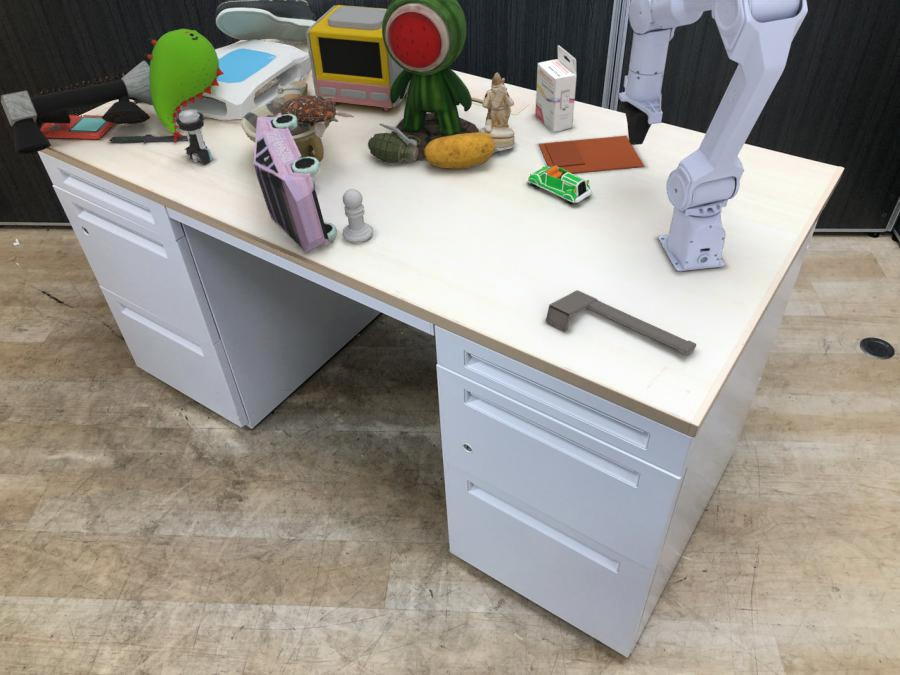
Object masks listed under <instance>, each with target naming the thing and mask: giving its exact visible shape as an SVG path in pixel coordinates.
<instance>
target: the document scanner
mask: <svg viewBox="0 0 900 675" xmlns="http://www.w3.org/2000/svg"><path fill="white" fill-rule="evenodd" d="M214 49H215V51H216V53H217V57H218V60H219V69H220V70H221V71H222V72H223V73H224V74H223V75H220V76H218V78H217V82H218V84H219V86H212V87H211V95H210V94H208V93H203V95H202V99H200V98H198V97H195V100H194V104H193V103H192V102H190V101H187V107H185V106H182V105H181V106H180V110H181V112H182V111H185V110H190V109H192V110H196V111H198V113H201V114H203V116H204V118H209V119H215V120H219V121H231V120H242V119H243V117H244V116H245V115H246V114H247V113H248V112H250V111H251V110H253V109H255V108H257V107H260V106H263V105H266V104H269V103H272V101H273V100H274V99H275V98H277V97H276V90H277V87H278V86H279V84H283V85H286V86H289V85H290V84H291V83H292V82H294V81H304V80H303V79H304V78H305V77H306V76H307V75H308V74H309V73H310V72H311V71H312V69H311V63H310V57H309V52H306V51H304V50H302V49H300V48H298V47H296V46H293V45H291V44H286V43H280V42H274V41H269V40H257V39H254V40H248V41H247V40H241V41H238V42H236V43H232V44H231V43H230V44H228V45H225V46H222V47H218V48H214ZM275 78H276V79H278V81H276V82H275V83H274V84H272V85H271V86H270V87H268V88H267V89H265V90H264V91H263V92H261V93H260V94H259V95H256V93H257V92H258V91H259V90H261V89H262V88H264V86H266V85H267V84H269V83H270V82H271V81H272V80H274V79H275ZM255 95H256V96H255ZM210 98H211V99H210ZM213 99H216V100H213Z"/></svg>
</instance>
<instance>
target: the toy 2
mask: <svg viewBox="0 0 900 675" xmlns="http://www.w3.org/2000/svg"><path fill="white" fill-rule="evenodd" d="M332 98H336V97H331V96H326V97H322V96H319V97H317V96H316V95H311V94H307V95H304V96H300V97H296V98H294V99H291V100H289V101H286V99H285V98H283V97H280V98H275V99H274V100H273V101H272V105H271V107H272V109H273V110H274V111H275V112H276V113H282V115H285V114H291V115H294V116H296V117H297V119H298V126H297V127H299V128H302V127H306V128H308V127H313V126H314V123H315V124H317V125H316V126H315V127H314V131H315V134H316V136H318V137H319V138H321V139H322V137H323V135H324V133H325V132H326V130H327V128H326V126H325V125H324V123H327V122H330V123H332V122H335V123H338V122H339V120H338V119H336V116H338V117H343V118H355V116H354V115H352V114H350V113H347V112H342V111H338V112H337V111H336V108H335V107H334V106H335V105H333V104H332V103H330V101H326V99H332ZM277 115H278V114H277ZM277 115H275V116H273V117H277Z"/></svg>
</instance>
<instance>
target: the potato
mask: <svg viewBox="0 0 900 675" xmlns="http://www.w3.org/2000/svg"><path fill="white" fill-rule="evenodd" d="M494 150H495V143H494V140H493V137H492V136H490V135H489V134H485V133H480V131H479V132H477V133H465V134H456V135H452V136H446V137H441V138H437V139H434V140H432V141H431V142H429V143H428V144H427V146H426V147H425V149H424V153H425V156H426V159H425V160H426V161H428V163H430V164H431V165H433V166H435V167H437V168H442V169H450V170H464V169H468V168H473V167H476V166H479V165H481V164H483V163H485V162H487V161H488V160H490V159H491V157H492V156H493V155H494V153H495V152H494Z"/></svg>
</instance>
